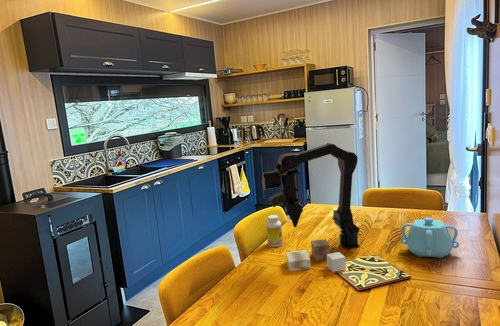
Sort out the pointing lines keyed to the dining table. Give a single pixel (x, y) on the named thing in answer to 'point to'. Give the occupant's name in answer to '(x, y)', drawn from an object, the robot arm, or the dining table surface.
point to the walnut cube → (320, 249)
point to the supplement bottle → (274, 231)
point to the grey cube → (336, 261)
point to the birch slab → (298, 261)
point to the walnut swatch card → (299, 251)
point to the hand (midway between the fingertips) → (293, 223)
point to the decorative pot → (429, 238)
